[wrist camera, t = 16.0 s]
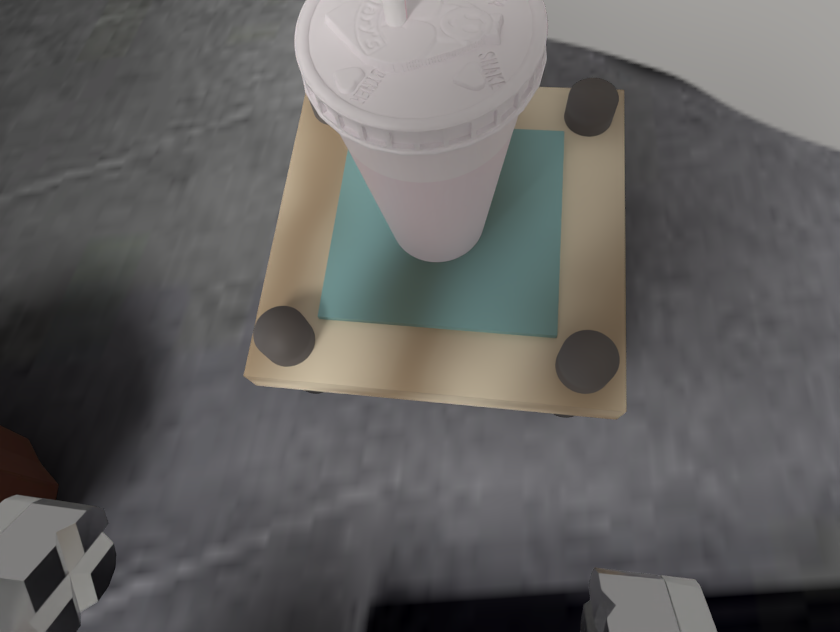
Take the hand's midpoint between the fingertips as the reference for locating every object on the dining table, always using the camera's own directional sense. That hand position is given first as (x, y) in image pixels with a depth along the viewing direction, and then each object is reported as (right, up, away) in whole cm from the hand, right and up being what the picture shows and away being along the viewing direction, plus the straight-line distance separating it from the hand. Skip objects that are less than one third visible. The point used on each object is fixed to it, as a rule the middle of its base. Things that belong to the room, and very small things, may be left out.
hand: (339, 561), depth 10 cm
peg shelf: (+3, +6, +18) cm, 20 cm away
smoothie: (+2, +8, +14) cm, 16 cm away
